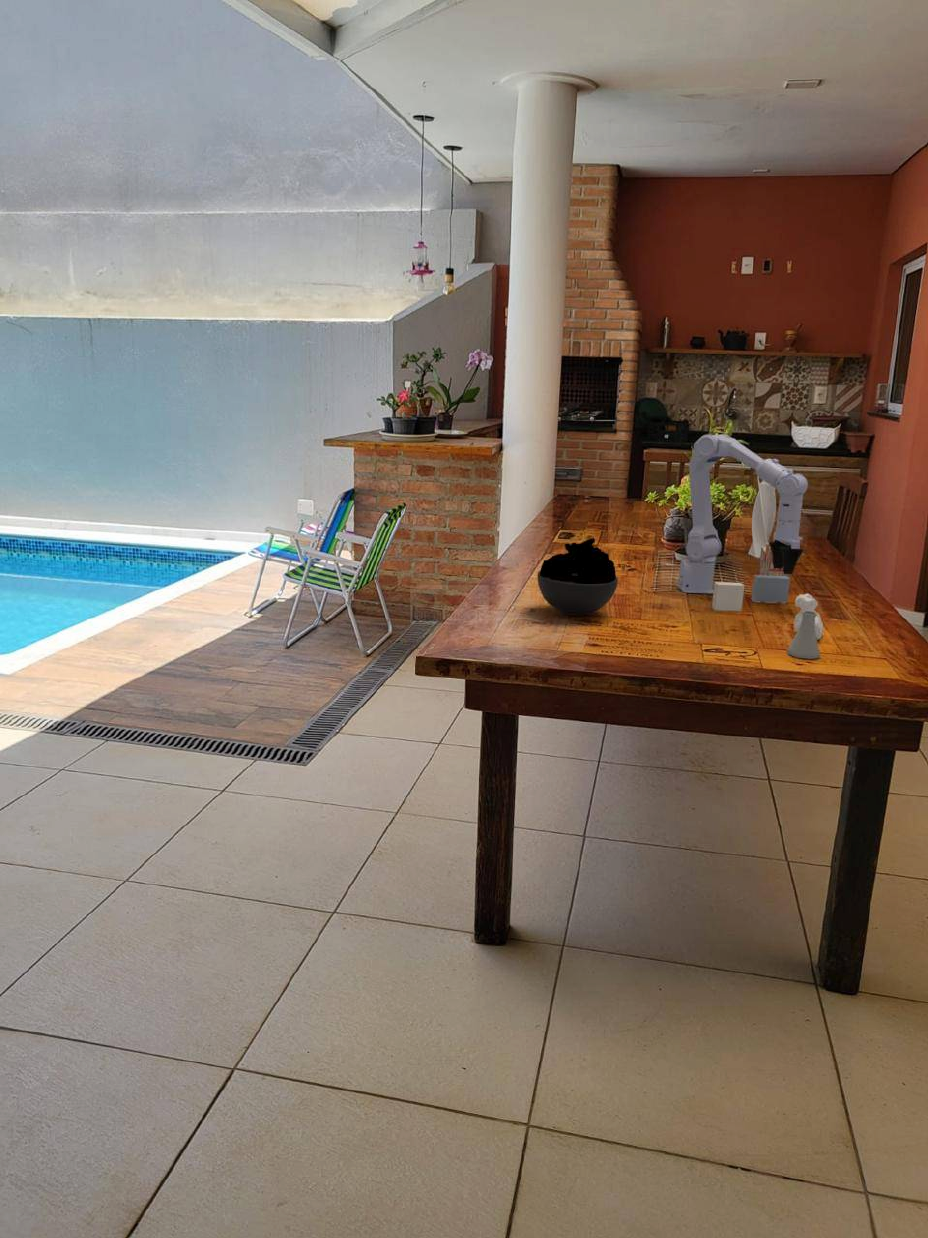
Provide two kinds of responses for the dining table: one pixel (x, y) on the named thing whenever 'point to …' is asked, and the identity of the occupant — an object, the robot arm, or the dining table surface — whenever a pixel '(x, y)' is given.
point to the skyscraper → (763, 518)
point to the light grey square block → (728, 596)
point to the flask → (805, 638)
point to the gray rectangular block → (770, 589)
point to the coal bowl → (578, 579)
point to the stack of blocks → (769, 564)
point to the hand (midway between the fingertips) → (782, 571)
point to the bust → (808, 605)
